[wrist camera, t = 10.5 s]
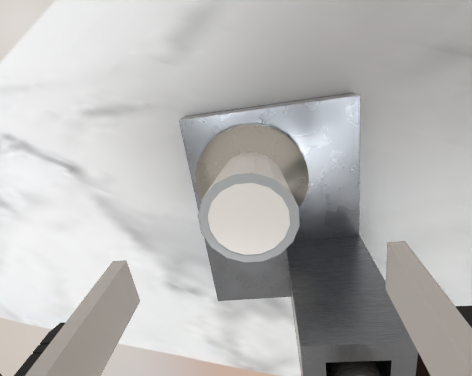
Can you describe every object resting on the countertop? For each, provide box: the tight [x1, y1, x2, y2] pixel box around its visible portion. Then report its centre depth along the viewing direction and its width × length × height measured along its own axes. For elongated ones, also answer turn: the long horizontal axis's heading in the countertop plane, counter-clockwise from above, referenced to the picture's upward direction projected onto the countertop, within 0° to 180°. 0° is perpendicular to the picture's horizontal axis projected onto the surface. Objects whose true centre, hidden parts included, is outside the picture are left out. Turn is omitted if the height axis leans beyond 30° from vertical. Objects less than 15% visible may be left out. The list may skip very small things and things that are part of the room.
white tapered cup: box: [198, 152, 300, 262], centre depth 23 cm, size 7×7×7 cm
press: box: [179, 93, 418, 376], centre depth 24 cm, size 15×20×14 cm
